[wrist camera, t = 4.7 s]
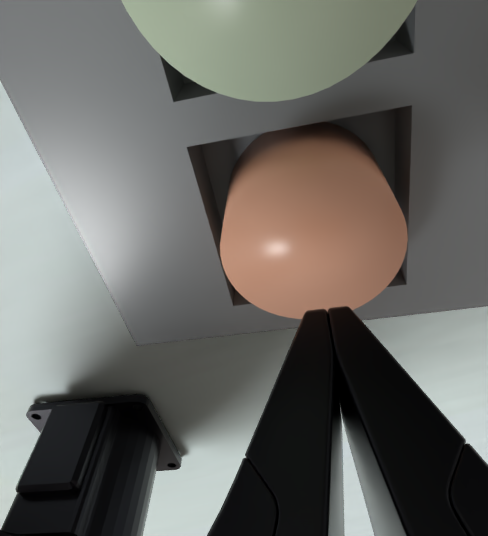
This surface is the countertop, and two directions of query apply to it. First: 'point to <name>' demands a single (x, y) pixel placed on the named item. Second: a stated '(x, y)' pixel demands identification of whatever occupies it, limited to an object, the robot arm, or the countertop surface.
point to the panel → (230, 149)
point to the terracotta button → (310, 222)
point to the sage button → (268, 41)
